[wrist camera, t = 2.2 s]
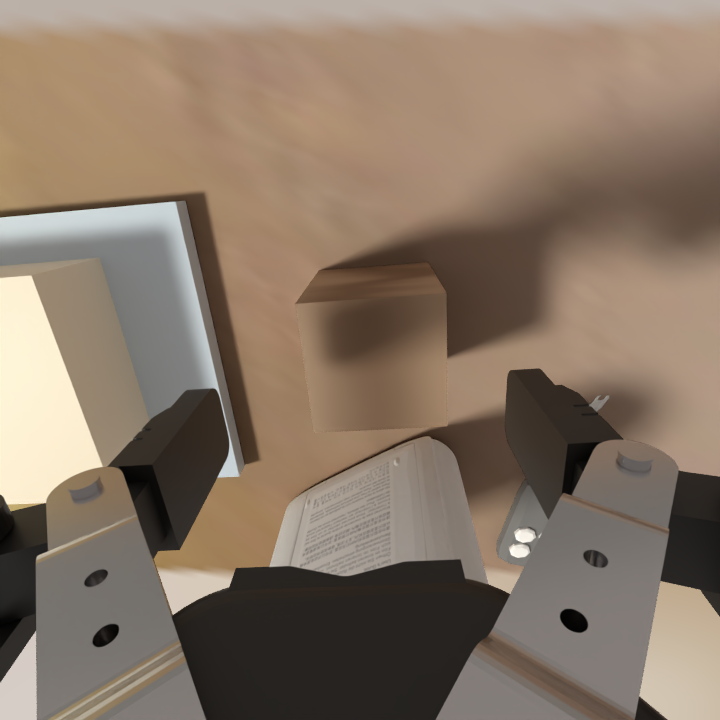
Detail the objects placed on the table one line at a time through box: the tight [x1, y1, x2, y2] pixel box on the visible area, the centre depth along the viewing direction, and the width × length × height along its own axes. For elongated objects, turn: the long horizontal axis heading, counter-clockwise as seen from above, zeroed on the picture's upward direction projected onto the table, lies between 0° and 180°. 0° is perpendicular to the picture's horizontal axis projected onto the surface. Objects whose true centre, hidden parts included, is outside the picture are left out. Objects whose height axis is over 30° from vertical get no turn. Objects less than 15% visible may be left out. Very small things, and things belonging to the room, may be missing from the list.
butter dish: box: [0, 201, 245, 504], centre depth 20 cm, size 18×14×5 cm
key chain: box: [496, 395, 610, 566], centre depth 23 cm, size 13×4×2 cm, turn 173°
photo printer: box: [269, 436, 488, 584], centre depth 19 cm, size 10×4×12 cm, turn 122°
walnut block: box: [295, 262, 448, 433], centre depth 18 cm, size 5×5×6 cm
